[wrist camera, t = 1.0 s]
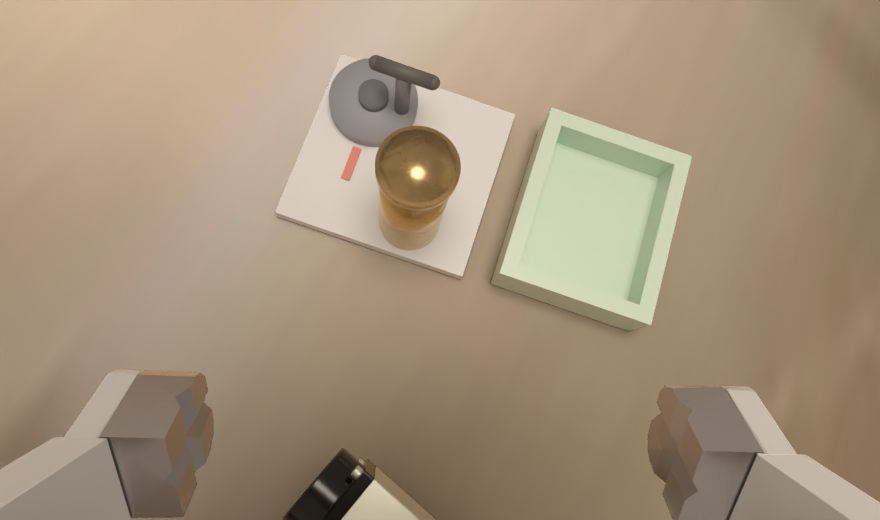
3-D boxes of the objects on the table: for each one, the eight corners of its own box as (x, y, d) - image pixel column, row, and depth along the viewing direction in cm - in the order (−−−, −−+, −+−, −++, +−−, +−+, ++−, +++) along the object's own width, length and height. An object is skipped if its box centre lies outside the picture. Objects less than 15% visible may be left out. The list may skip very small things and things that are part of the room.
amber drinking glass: (366, 240, 41) (362, 189, 31) (389, 181, 42) (391, 114, 32) (430, 262, 41) (445, 218, 31) (450, 202, 42) (471, 141, 32)
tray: (490, 283, 42) (499, 273, 39) (538, 129, 45) (551, 107, 42) (629, 331, 42) (650, 325, 39) (668, 175, 45) (691, 156, 42)
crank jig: (277, 216, 42) (256, 178, 35) (341, 61, 45) (334, -3, 38) (460, 279, 42) (476, 254, 35) (512, 120, 45) (537, 68, 38)
